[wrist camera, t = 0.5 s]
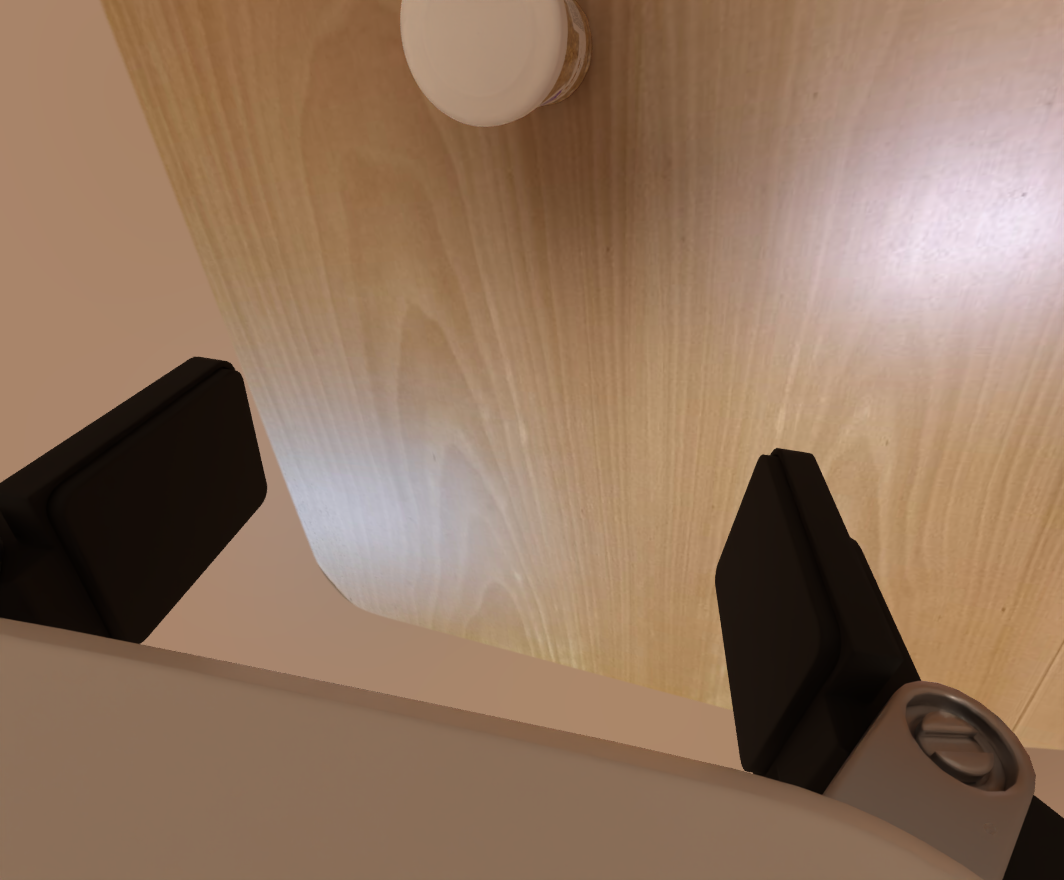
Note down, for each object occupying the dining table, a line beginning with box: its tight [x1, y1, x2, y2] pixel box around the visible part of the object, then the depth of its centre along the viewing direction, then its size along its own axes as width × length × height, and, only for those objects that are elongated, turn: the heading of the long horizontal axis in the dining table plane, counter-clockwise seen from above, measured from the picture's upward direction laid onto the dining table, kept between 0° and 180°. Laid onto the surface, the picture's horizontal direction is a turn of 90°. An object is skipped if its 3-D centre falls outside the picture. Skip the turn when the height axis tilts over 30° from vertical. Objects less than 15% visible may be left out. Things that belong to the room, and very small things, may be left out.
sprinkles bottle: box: [400, 0, 592, 127], centre depth 21 cm, size 5×5×13 cm
